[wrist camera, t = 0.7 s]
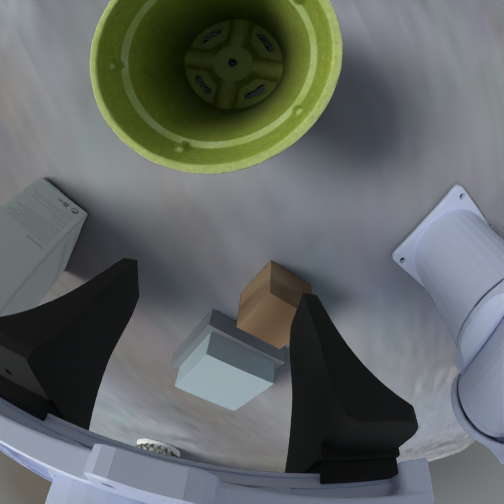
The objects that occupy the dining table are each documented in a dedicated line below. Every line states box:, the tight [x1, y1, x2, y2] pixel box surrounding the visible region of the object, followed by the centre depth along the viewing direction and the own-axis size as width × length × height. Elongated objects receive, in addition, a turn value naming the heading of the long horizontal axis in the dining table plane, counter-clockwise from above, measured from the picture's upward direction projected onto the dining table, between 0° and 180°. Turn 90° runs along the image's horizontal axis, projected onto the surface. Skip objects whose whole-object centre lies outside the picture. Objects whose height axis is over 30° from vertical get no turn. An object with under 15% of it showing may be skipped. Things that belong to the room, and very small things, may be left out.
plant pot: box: [90, 0, 343, 174], centre depth 12 cm, size 9×9×9 cm
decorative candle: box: [135, 438, 180, 458], centre depth 36 cm, size 9×9×25 cm
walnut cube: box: [236, 260, 312, 349], centre depth 23 cm, size 4×4×4 cm
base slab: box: [170, 309, 285, 371], centre depth 28 cm, size 8×8×2 cm
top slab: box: [175, 332, 274, 411], centre depth 26 cm, size 6×6×2 cm
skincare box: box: [0, 178, 87, 317], centre depth 17 cm, size 8×6×15 cm
